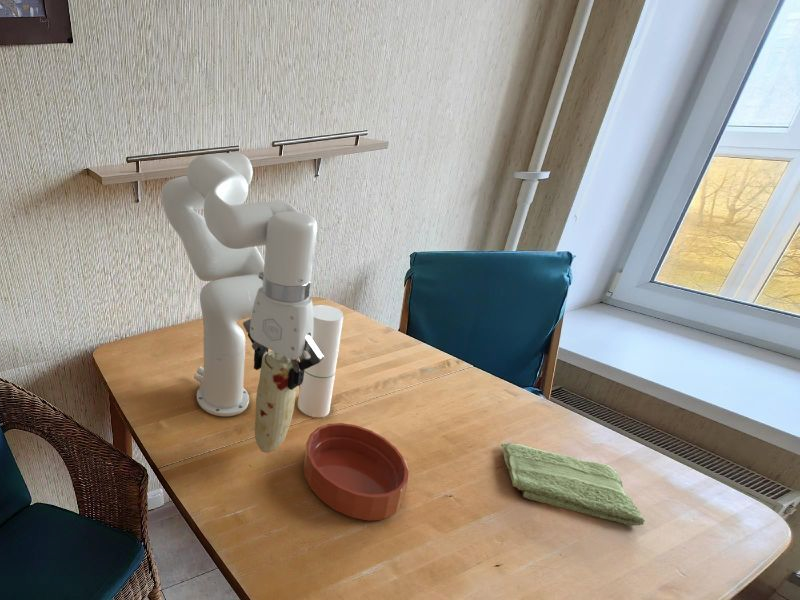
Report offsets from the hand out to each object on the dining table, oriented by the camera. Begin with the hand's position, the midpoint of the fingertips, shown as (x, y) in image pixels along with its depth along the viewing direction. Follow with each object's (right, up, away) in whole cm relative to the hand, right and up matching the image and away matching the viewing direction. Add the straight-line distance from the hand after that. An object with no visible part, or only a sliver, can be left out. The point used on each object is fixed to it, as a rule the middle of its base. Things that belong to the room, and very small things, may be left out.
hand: (277, 375), depth 77 cm
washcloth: (+53, -21, +2) cm, 57 cm away
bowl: (+15, -21, +4) cm, 26 cm away
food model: (0, -14, +6) cm, 15 cm away
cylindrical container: (+15, -14, +23) cm, 31 cm away
